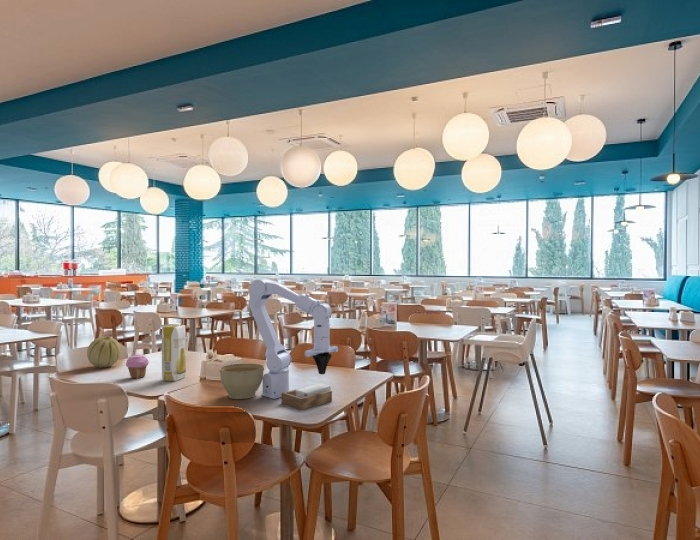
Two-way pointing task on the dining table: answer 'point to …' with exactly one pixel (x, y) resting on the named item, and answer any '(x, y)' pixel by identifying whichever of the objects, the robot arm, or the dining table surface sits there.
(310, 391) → the skincare box
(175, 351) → the juice carton
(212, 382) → the dining table surface
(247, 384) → the planter bowl
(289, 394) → the walnut cradle
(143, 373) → the cupcake
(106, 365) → the cantaloupe
